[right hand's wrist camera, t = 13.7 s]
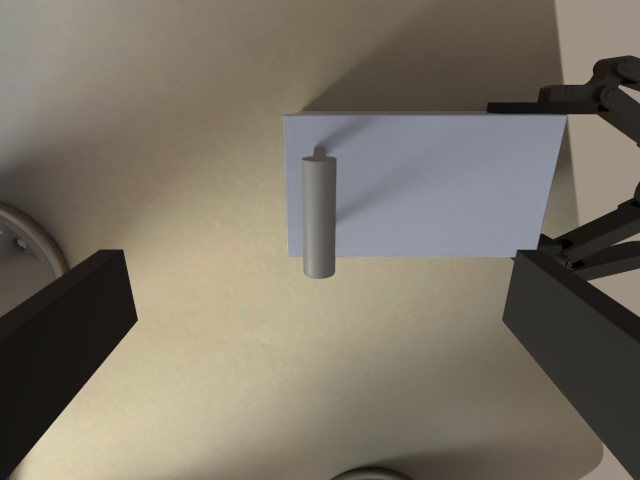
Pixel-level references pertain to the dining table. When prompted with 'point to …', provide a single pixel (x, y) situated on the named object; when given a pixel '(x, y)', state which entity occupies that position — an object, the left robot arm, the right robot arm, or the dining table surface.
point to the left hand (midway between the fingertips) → (483, 180)
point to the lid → (416, 184)
